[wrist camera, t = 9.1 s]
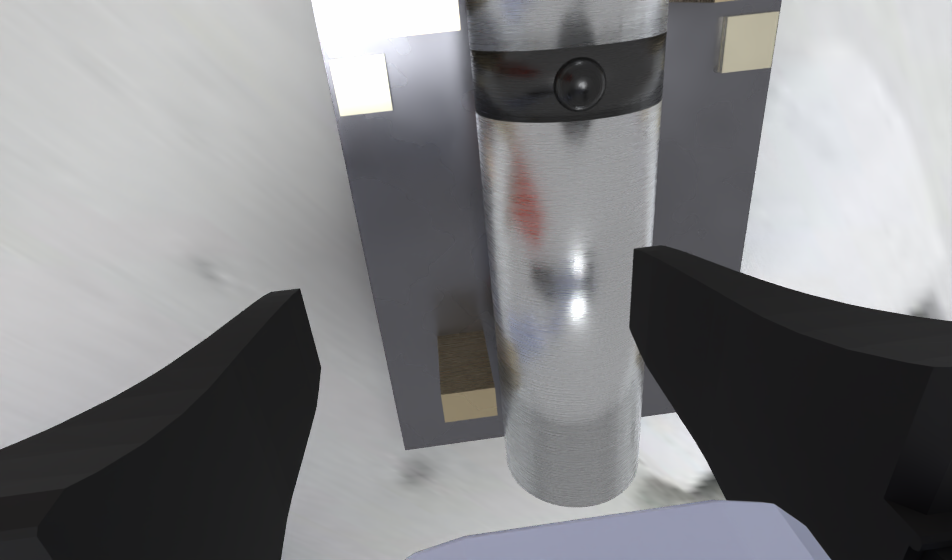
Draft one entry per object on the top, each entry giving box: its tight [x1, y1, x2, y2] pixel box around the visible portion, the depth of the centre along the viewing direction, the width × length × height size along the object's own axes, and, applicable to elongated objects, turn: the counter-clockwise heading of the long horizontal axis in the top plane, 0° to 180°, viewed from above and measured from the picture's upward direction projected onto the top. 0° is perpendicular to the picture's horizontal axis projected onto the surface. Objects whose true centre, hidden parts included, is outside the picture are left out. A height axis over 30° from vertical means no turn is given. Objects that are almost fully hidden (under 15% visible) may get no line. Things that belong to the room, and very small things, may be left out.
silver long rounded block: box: [465, 0, 669, 507], centre depth 16 cm, size 20×5×6 cm, turn 5°
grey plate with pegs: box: [311, 0, 782, 450], centre depth 17 cm, size 22×14×4 cm, turn 5°
